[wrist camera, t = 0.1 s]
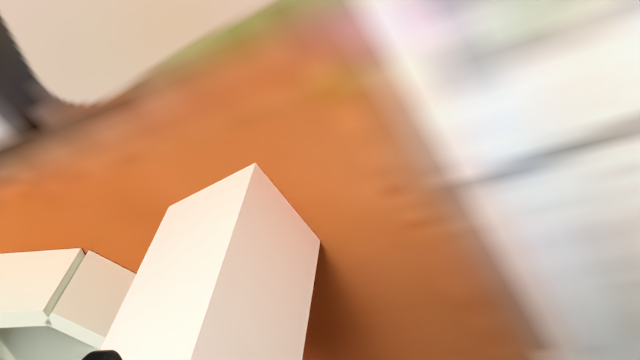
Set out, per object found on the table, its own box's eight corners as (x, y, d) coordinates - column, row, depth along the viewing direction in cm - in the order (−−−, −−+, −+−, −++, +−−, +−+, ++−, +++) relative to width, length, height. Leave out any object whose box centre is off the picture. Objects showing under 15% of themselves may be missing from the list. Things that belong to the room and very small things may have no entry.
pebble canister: (320, 240, 28) (284, 476, 19) (235, 276, 30) (168, 504, 21) (255, 162, 26) (180, 388, 17) (168, 206, 28) (61, 429, 19)
